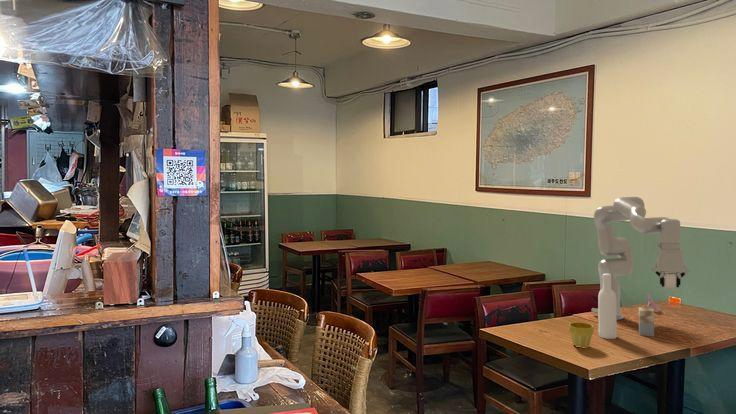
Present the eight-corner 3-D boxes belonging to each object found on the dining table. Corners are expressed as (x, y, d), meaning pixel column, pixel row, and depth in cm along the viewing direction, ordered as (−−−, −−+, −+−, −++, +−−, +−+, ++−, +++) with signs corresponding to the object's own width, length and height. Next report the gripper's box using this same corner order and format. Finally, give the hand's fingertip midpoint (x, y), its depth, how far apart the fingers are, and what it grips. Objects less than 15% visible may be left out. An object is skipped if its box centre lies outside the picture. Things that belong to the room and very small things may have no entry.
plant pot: (599, 348, 225) (598, 326, 225) (579, 351, 222) (579, 329, 222) (583, 341, 235) (582, 320, 235) (564, 344, 232) (563, 323, 232)
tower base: (639, 335, 241) (639, 322, 241) (638, 331, 246) (638, 319, 246) (654, 336, 238) (654, 323, 238) (652, 332, 244) (652, 320, 244)
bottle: (609, 340, 235) (608, 276, 233) (594, 336, 242) (593, 273, 240) (620, 337, 239) (619, 274, 237) (605, 333, 246) (605, 271, 244)
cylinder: (664, 289, 227) (664, 273, 227) (662, 286, 232) (662, 271, 232) (677, 289, 225) (677, 274, 225) (675, 287, 230) (676, 272, 229)
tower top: (639, 322, 241) (639, 310, 240) (638, 319, 246) (638, 307, 246) (654, 323, 238) (653, 311, 238) (652, 320, 244) (652, 308, 243)
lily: (648, 316, 274) (658, 302, 271) (631, 304, 284) (640, 290, 281) (660, 319, 280) (670, 305, 278) (642, 307, 290) (652, 293, 287)
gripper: (649, 247, 227) (649, 287, 229) (694, 248, 220) (693, 289, 222) (647, 244, 234) (647, 283, 236) (691, 245, 227) (690, 285, 229)
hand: (670, 286), depth 229 cm, fingers closed on cylinder, 5 cm apart
